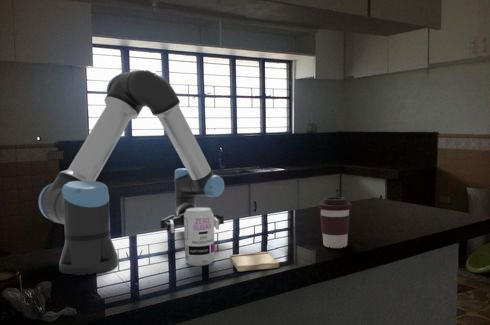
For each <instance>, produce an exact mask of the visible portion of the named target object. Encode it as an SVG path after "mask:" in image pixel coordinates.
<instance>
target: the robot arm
mask: <svg viewBox="0 0 490 325" xmlns="http://www.w3.org/2000/svg"><path fill="white" fill-rule="evenodd" d="M106 86H107V87H106V96H105V97H104V103H105V107H104V109H103V111H102V112H101V114H100V115H99V117H98V119H97V121H96V122H95V124H94V125H93V127H92V128H91V130H90V132H89V134H88V135H87V137H86V139H85V140H84V142H83V143H82V146H81V147H80V149H79V150H78V152H77V153H76V155H75V156H74V159H72V162H71V164H70V165H69V167H68V169H66V170H61V171H60V172H59V173H58V175H57V176H56V178H55V180H54V181H53V182H52V183H50V184H48V185H46V186H45V187H44V188H43V189H42V190H41V192H40V194H39V196H38V207H39V208H38V209H39V210H40V212H41V214H42V215H43V216H44V218H46V219H48V220H49V221H51V222H53V223H56V224H62V225H64V246H63V249H62V252H61V256H60V260H59V263H58V264H59V265H58V267H59V268H58V269H59V272H60V271H61V272H63V273H66V274H76V275H75V276H87V275H86V274H89V275H95V274H99V273H104V272H107V271H110V270H112V269H114V268H116V267H117V266H118V265H119V256H118V253H117V250H116V248H115V245H114V243H113V240H112V238H111V222H110V221H111V220H110V194H109V189H108V188H109V187H108V186H107V185H106V184H105V183H103V182H101V181H96V180H97V179H98V177H99V175H100V173H101V171H102V170H103V168H104V166H105V165H106V163H107V161H108V160H109V158H110V156H111V154H112V152H113V151H114V149H115V147H116V145H117V144H118V142H119V140H120V138H121V137H122V135H123V133H124V131H125V129H126V128H127V126H128V124H129V122H131V120H135V119H137V118H138V116H139V114H140V113H141V112H142V110H143V108H144V107H147V108H148V109H149V110H150V113H151V114H152V115H153V116H155V117H157V118H158V121H159V122H160V124H161V125H162V127H163V129H164V131H165V132H166V135H167V137H168V139H169V140H170V143H171V144H172V146H173V148H174V149H175V152H176V153H177V154H178V156H179V159H180V160H181V162H182V164H183V166H184V167H185V168H184V167H182V168H177V169H174V180H173V181H174V192H175V194H174V195H175V198H174V199H175V200H174V201H175V204H174V205H175V206H174V212H175V215H176V216H175V215H174V214H169V215H168V216H165V218H162V219H160V220H159V221H160V222H159V223H160V224H159V226H160V229H165V228H166V231H168V232H169V231H170V232H171V234H175V227H177V226H183V227H184V214H185V212H186V209H188V208H194V207H197V202H196V196H203V197H207V198H216V197H219V196H221V195H222V194H223V192H224V190H225V181H224V179H223V177H221V176H219V175H217V174H214V173H213V171H212V169H211V167H210V165H209V163H208V161H207V158H206V157H205V155H204V153H203V151H202V149H201V147H200V145H199V143H198V141H197V139H196V137H195V136H194V133H193V130H191V127H190V126H189V124H188V123H189V122H188V121H187V119H186V117H185V116H184V114H183V111H182V109H181V107H180V103H181V101H180V98H179V97H178V95H177V92H176V91H175V90H174V88H173V87H172V85H171V83H169V82H168V80H167V79H166V78H165V77H164V76H163V75H162V74H161V73H159V72H158V71H156V70H154V69H151V68H146V67H145V68H140V69H137V70H131V71H127V72H122V73H118V74H117V75H115V76H113V77H112V78H111V79H110V80H109V82H108V84H107V85H106ZM213 214H214V229H216V230H219V229H220V226H221V225H224V223H225V222H224V221H225V219H224V215H220V214H219V213H218V214H216V213H213ZM61 272H60V273H61ZM63 273H62V274H63ZM94 273H95V274H94ZM66 274H65V275H66Z"/></svg>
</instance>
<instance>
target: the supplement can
mask: <svg viewBox="0 0 490 325" xmlns="http://www.w3.org/2000/svg"><path fill="white" fill-rule="evenodd" d="M214 214H215V213H213V211H212V208H211V207H208V206H196V207H194V208H188V209H186V212H185V214H184V226H183V229H184V231H183V232H184V254H185V258H184V260H185V262H186V263H187V264H188V265H190V266H194V267H197V266H198V267H201V266H208V265H211V264H212V263H213V262H214V261H215V259H216V258H215V257H216V256H215V254H216V253H215V251H216V250H215V248H216V247H215V227H214Z"/></svg>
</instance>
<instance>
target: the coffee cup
mask: <svg viewBox="0 0 490 325" xmlns="http://www.w3.org/2000/svg"><path fill="white" fill-rule="evenodd" d="M318 209H319V210H320V215H319V217H320V228H321V233H322V242H323V246H324V247H327V248H329V247H330V248H331V249H342V248H343V247H344V248H346V247H347V246H348V238H349V237H348V234H349V229H350V227H349V226H350V210H351V209H352V203H351V202H349V201H347V199H346V198H345V197H341V196H327V197H324V198H323V199H322V200H321V202H319V203H318Z"/></svg>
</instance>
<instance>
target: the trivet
mask: <svg viewBox="0 0 490 325" xmlns="http://www.w3.org/2000/svg"><path fill="white" fill-rule="evenodd" d="M229 259H230V261H231V263H232V264H233V266H234V267H235V268H236V270H237V272H246V271H247V272H248V271H256V270H257V271H258V270H268V269H278V268H280V262H279V261H277V260H276V259H275V258H273V257H272V256H271V255H270V253H269V252H268V251H260V252H250V253H249V252H248V253H242V254H239V253H238V254H230V256H229Z"/></svg>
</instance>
